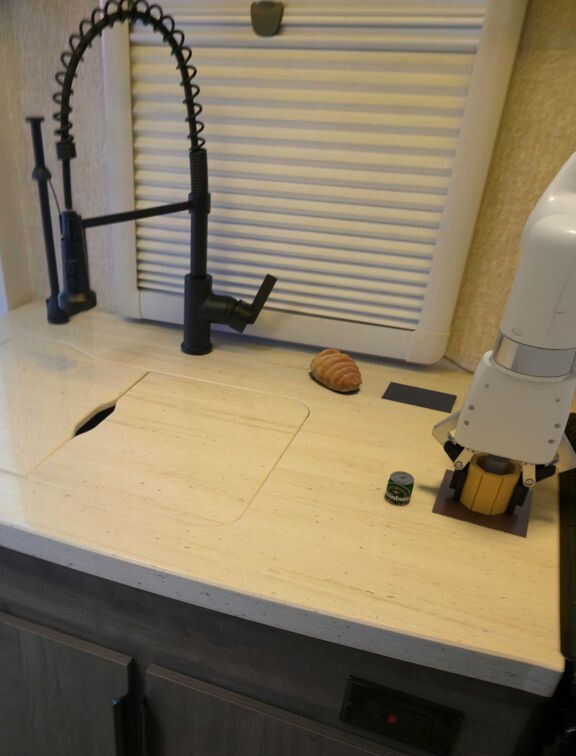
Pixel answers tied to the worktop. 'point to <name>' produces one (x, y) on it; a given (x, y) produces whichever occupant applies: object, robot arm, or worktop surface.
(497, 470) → the stand
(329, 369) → the pastry
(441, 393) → the mat
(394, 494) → the beer can
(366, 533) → the worktop surface
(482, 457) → the sleeve
